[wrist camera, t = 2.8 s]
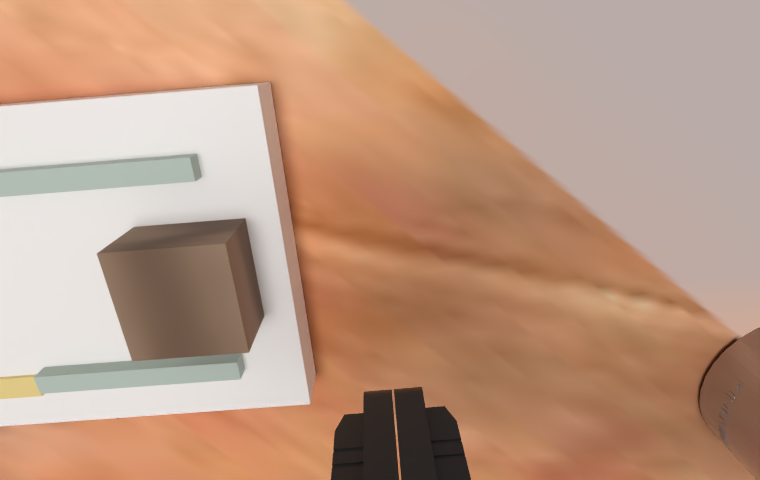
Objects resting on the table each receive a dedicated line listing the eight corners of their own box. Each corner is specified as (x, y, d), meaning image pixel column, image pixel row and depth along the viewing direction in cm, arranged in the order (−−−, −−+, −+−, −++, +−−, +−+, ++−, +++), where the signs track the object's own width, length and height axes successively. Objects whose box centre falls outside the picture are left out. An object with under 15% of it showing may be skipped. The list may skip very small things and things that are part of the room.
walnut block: (245, 218, 21) (225, 243, 18) (264, 315, 22) (249, 352, 20) (133, 226, 21) (96, 253, 18) (162, 323, 23) (132, 361, 20)
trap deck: (270, 81, 21) (252, 86, 18) (315, 373, 27) (308, 415, 24) (-294, 128, 21) (-406, 141, 18) (-127, 405, 27) (-190, 450, 24)
